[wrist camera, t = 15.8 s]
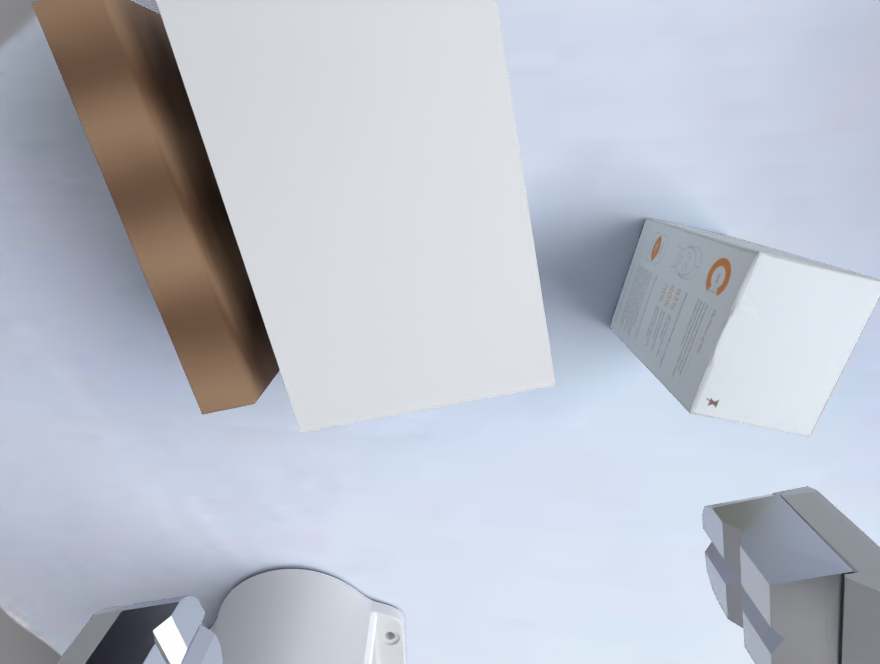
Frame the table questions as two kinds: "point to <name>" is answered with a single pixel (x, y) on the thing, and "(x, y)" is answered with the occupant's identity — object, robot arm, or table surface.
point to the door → (164, 191)
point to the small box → (741, 324)
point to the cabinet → (372, 196)
